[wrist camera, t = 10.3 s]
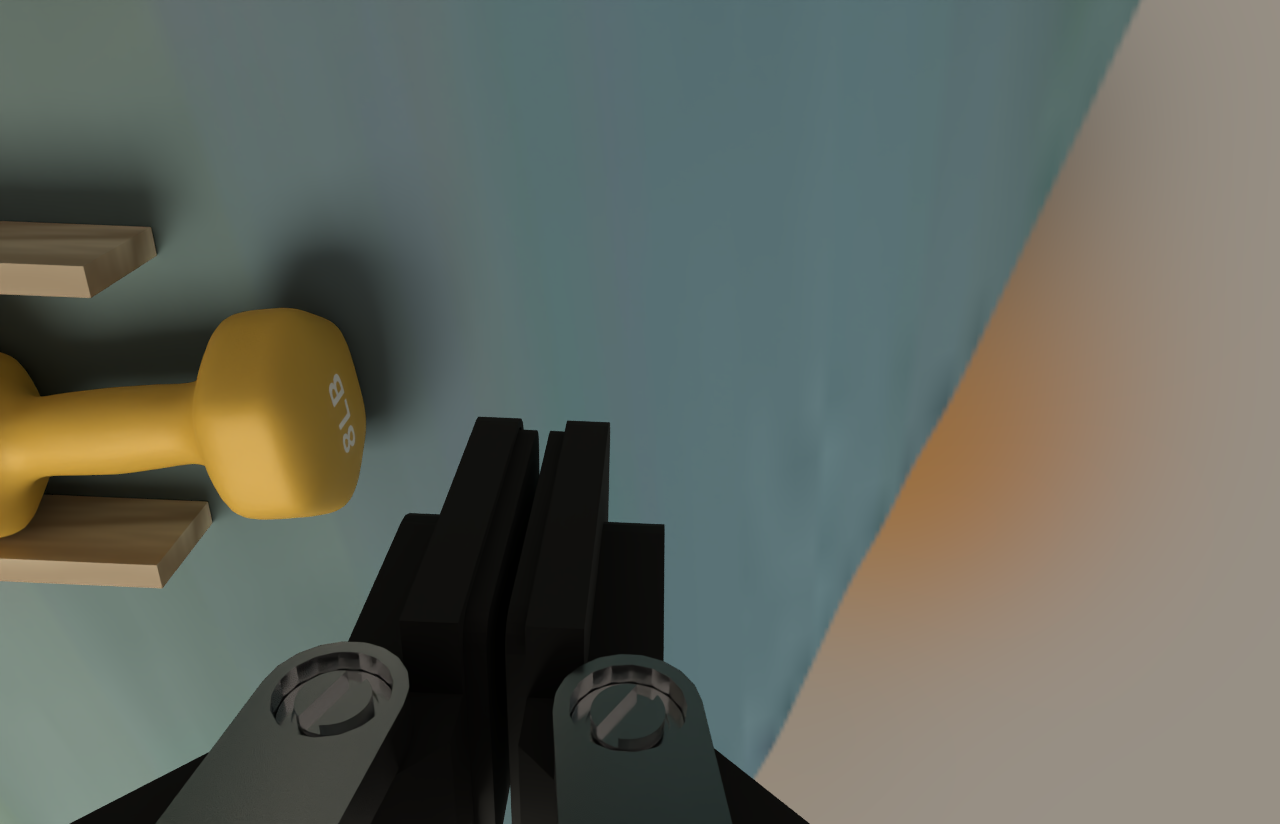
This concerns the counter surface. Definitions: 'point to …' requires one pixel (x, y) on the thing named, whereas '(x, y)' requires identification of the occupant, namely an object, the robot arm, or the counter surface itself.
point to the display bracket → (82, 525)
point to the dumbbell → (203, 423)
